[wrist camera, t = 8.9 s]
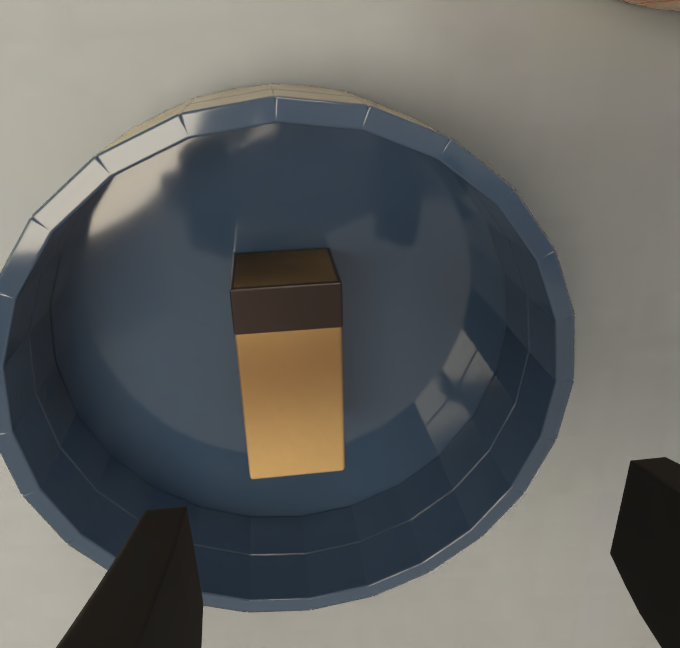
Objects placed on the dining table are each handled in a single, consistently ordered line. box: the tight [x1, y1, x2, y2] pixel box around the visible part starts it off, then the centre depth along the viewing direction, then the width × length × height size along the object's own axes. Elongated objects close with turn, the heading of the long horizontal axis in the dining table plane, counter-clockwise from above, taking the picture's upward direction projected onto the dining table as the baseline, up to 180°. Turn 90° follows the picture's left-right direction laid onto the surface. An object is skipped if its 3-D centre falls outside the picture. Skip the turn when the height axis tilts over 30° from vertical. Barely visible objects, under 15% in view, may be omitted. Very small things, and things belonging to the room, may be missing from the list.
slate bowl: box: [0, 84, 575, 612], centre depth 17 cm, size 14×14×4 cm
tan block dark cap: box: [229, 248, 345, 479], centre depth 17 cm, size 6×3×3 cm, turn 1°
